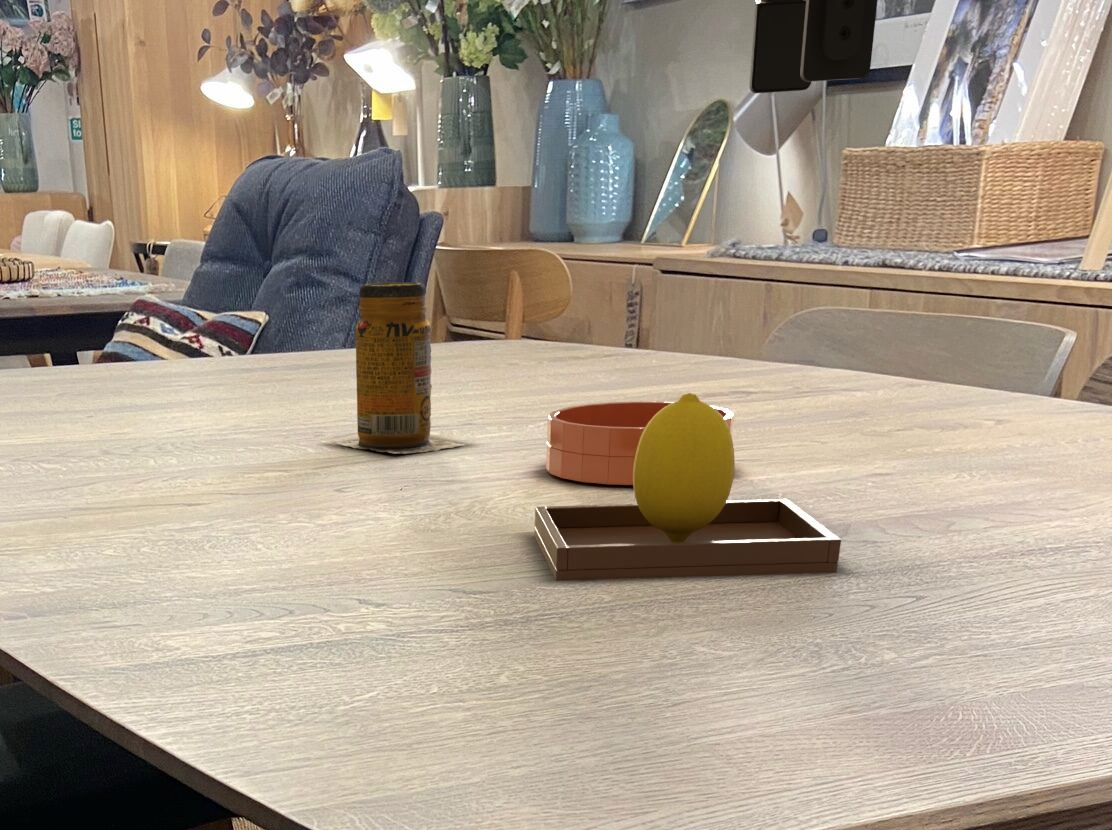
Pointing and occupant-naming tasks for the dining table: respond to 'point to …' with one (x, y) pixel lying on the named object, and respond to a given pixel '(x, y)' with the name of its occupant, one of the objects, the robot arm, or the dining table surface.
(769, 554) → the tray
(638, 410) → the bowl
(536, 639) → the dining table surface
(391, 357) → the condiment
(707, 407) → the lemon
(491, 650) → the dining table surface
